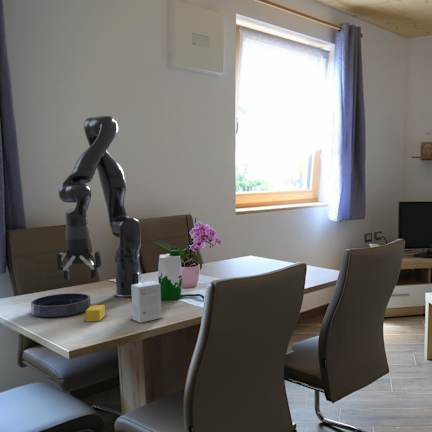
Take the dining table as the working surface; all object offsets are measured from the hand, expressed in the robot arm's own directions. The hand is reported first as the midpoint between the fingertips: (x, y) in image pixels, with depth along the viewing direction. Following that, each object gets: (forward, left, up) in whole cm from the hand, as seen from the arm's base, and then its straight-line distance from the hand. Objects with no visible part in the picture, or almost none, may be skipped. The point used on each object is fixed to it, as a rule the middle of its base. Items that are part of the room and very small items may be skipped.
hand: (80, 279), depth 207 cm
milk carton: (-30, -16, -13) cm, 36 cm away
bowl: (+7, -2, -12) cm, 15 cm away
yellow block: (-7, +10, -12) cm, 18 cm away
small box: (-26, +14, -13) cm, 32 cm away
